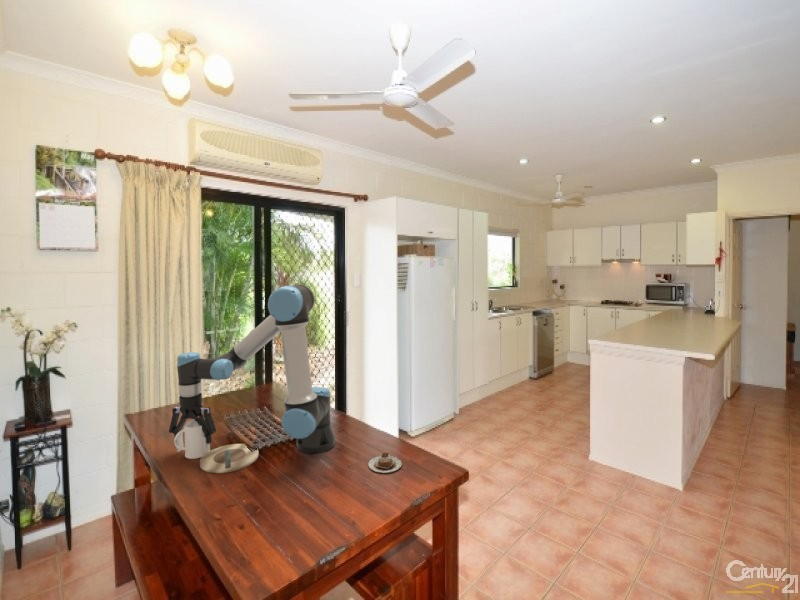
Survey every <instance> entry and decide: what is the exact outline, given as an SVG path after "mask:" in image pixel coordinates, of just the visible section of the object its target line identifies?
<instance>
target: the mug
mask: <svg viewBox="0 0 800 600" xmlns="http://www.w3.org/2000/svg"><path fill="white" fill-rule="evenodd" d="M204 420H205V418H204ZM182 432H183V433H184V446H183V447H179V446H177V443H176V438H177V436H178V435H179V434H180V433H182ZM204 435H205V434H204V432H203V431H202V426H199V424H198V423H197V421H195V420H194V419H191V420H190V421H186V422H185V424H184V425H183V428H182V429H181V431H179V432H178V433H177V435H176V436H175V438H174V440H173V444H174V446H175V447H176V449H177V448H178V449H180V450H181V451H184V458H186V459H189V460H194V459H199V458H200V459H201V458H202V456H203V455H205V454H206V453H204V443H203V436H204ZM209 451H211V449H210V450H209ZM209 451H208V452H209Z"/></svg>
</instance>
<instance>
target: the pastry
mask: <svg viewBox="0 0 800 600" xmlns="http://www.w3.org/2000/svg"><path fill="white" fill-rule="evenodd" d="M394 464H395V467H394V468H392V469H390V470H388V469H389V468H390V467H393V465H394ZM402 464H403V463H402V461H401V460H400V459H399V458H398V457H396V456H392V455H390V454H389V453H388V452H382V453H381V454H380V455H379V456H375V457H373V458H372V459H370V460H369V461H368V464H367V465H368V468H369V469H370V470H372V471H373V472H375V473H382V474H390V473H393V472H394V473H395V472H396V471H398V470H399V469H400V468H401V467H402ZM375 465H376V467H377V468H379V469H384V470H379V469H377V468H376V467H375ZM385 469H386V470H385Z"/></svg>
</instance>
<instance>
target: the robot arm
mask: <svg viewBox="0 0 800 600" xmlns="http://www.w3.org/2000/svg"><path fill="white" fill-rule="evenodd" d="M315 302H316V299H315V296H314V292H313V291H312V289H311V288H309V287H308V286H306V285H303V284H294V285H285V286H281V287H278V288H277V289H275V290H274V291H273V292H272V293H271V294H270V295H269V298H268V302H267V309H268V313H269V315H268V316H267V317H266V318H265V319H264V320H262V321H261V322H260V323H259V324H258V325H257V326H256V327H254V329H252V330H251V331H250V332H249V333H248V334H247V335H246V336H245V337H243V338H242V339H241V340H240V341H239V342H238V343H237V344H235V345H234V346H233V347H232V348H231V349H230V350H229V351H228V352H226V353H223V354H222V355H219V356H216V357H214V358H201V356H200V355H201V354H200V353H199V352H197V351H189V352H183V353H181V354H178V356H177V359H176V360H177V361H176V362H177V364H176V365H177V366H176V369H177V378H178V395H179V397H178V400H179V401H178V403H179V406H178V405H177V406H175V407H173V408H171V410H172V416H171V420H170V423H169V424H170V425H169V427H168V428H169V429H168V432H169V434H171V433H172V434H173V435H174V439H175V436H176V435H177V433H178V432H179V431H181V430H182V429H183V428H184V424H185V423H187V420H188V419H189V420H190V419H191V420H195V421H197V423H198V424H199V426H202V431H203V432H204V434H205V435H204V436H203V443H204V453H207V452H208V451H209V450H210V451H211V443H212V435H213V434H215V433H216V432H217V429H216V426H215V423H214V422H215V421H214V420H213V417H212V414H211V407H203V405H202V403H203V393H202V380H213V381H221V380H224V381H225V380H228V379H230V378H231V376H232V375H233V372H234V371H237V370H240V369H241V368H242V367H244V366H245V365H246V363H247V361H249V360H250V359H251V358H252V357H253V356H255V354H256V353H257V352H259V351H260V350H261V349H263V347H265V346H267V344H268V343H269V342H270V341H271V340H273V339H274V338H275V337H276V336H277V335H279V333H280V337H281V346H282V353H283V361H284V370H285V371H284V372H285V380H286V390H287V396H286V397H285V399H284V400H283V402H284V410H285V412H284V413H283V415H282V417H281V427H282V429H283V431H284V433H285V434H286V435H288V436H290V438H293V439H296V448H297V450H298V451H299V452H302V453H306V454H317V453H318V454H319V453H323V452H326V451H329V450H331V449H332V448H333V447H334V446H335V445H336V436H335V433H334V431H333V428H332V425H331V397H332V396H331V392H330V389H328V388H326V387H322V386H312V385H313V384H312V376H311V367H310V358H309V348H308V339H307V331H306V326H307V325H308V324H309V323H310V319H309V313H310V312H311V310H312V309H313V308H314V306H315ZM180 414H181V416H180ZM179 417H180V419H179ZM204 419H205V420H204ZM183 433H184V432H182V433H180V434H179V435H178V436H177V438H176V444H177V446H179V447H184V435H183ZM181 451H182V450H180V449H178V448H177V447H176V452H177V453H179V452H181Z"/></svg>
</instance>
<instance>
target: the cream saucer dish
mask: <svg viewBox="0 0 800 600" xmlns="http://www.w3.org/2000/svg"><path fill="white" fill-rule="evenodd" d="M245 444H246V443H232V444H226V445H222V446H218V447H216V448H213V449H210V451H209V452H207V453H206V454H205V455H203V456H202V457H200V460H199V467H200V469H201V470H202V471H204V472H206V473H210V474H225V473H226V474H227V473H231V472H232V473H233V472H236V471H240V470H243V469H245V468H248V467H249V466H251V465H252V464H253V463H255V462H256V461H257V460H258V458H259V455H260V454H259V448H257V450H255V451H253V452H251V451H250V450H249V449H248V448H247V446H246V445H245Z"/></svg>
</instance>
